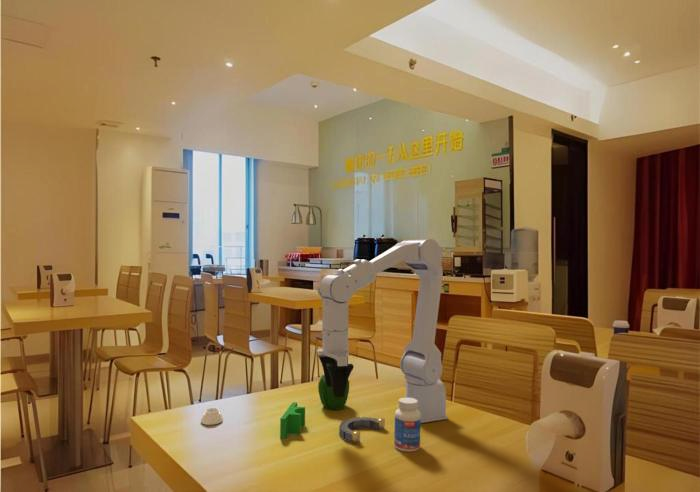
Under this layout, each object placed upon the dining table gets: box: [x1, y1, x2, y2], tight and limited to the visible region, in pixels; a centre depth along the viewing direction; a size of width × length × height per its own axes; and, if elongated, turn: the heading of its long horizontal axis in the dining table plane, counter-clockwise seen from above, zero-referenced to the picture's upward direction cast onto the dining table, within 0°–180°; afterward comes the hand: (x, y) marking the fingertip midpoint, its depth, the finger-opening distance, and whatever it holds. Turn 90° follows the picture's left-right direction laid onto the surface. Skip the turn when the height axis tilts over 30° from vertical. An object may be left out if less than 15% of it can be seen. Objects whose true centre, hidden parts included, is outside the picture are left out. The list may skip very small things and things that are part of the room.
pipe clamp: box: [279, 401, 306, 440], centre depth 106 cm, size 11×4×5 cm, turn 173°
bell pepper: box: [317, 374, 350, 410], centre depth 122 cm, size 8×8×10 cm
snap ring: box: [338, 416, 386, 445], centre depth 105 cm, size 8×12×2 cm, turn 143°
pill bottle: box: [393, 397, 422, 453], centre depth 97 cm, size 6×5×10 cm
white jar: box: [200, 407, 224, 426], centre depth 110 cm, size 5×3×5 cm
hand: (334, 391), depth 102 cm, fingers open, 7 cm apart
